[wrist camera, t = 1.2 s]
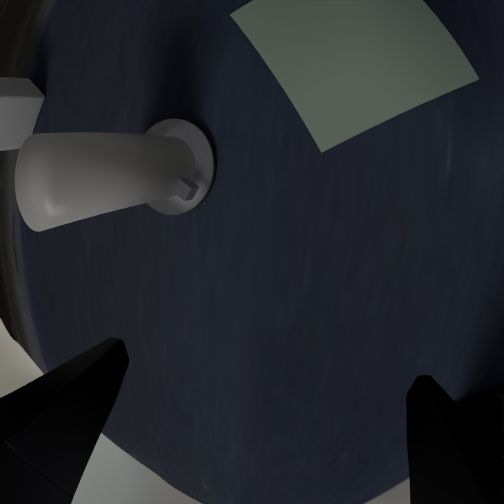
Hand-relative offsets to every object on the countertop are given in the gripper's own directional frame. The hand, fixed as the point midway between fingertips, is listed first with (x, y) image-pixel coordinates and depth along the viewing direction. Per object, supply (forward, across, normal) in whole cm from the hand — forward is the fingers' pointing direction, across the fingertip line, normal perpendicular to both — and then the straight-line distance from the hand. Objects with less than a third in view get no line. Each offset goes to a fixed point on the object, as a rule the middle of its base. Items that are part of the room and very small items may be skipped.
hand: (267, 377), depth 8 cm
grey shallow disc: (+14, +9, -3) cm, 17 cm away
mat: (+14, -3, -13) cm, 19 cm away
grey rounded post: (+14, +9, -3) cm, 17 cm away
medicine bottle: (+21, +32, -10) cm, 40 cm away
